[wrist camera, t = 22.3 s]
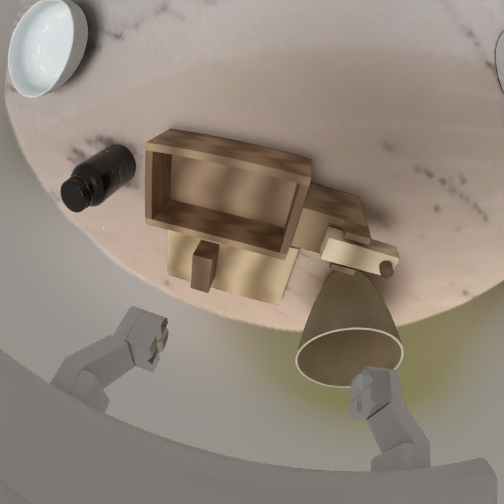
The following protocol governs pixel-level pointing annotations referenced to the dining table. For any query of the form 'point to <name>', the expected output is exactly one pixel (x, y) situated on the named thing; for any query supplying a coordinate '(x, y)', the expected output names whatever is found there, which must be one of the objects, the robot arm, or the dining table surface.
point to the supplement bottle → (97, 178)
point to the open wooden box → (244, 196)
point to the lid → (228, 267)
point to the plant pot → (347, 332)
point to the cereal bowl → (47, 46)
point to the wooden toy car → (359, 253)
